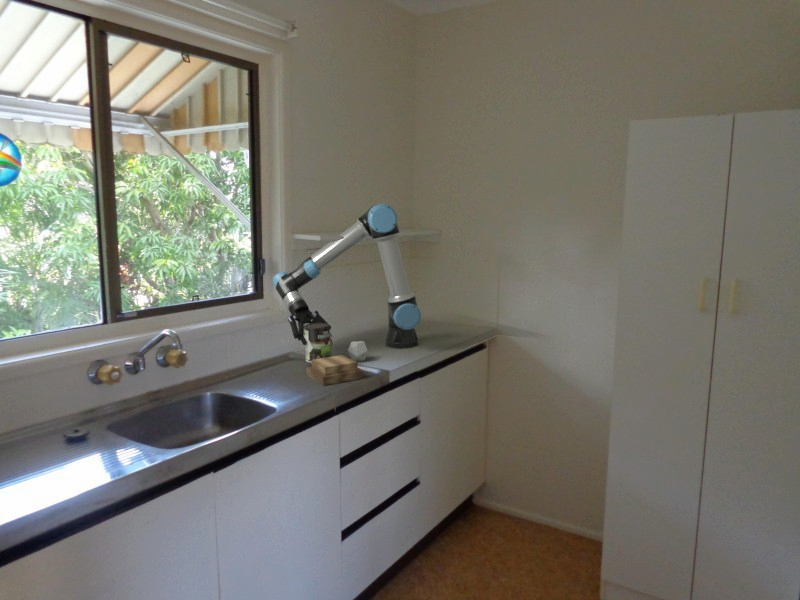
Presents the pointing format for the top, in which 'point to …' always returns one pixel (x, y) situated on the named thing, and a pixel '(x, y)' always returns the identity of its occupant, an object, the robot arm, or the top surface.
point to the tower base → (334, 377)
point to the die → (357, 351)
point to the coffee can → (318, 340)
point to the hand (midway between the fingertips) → (322, 347)
